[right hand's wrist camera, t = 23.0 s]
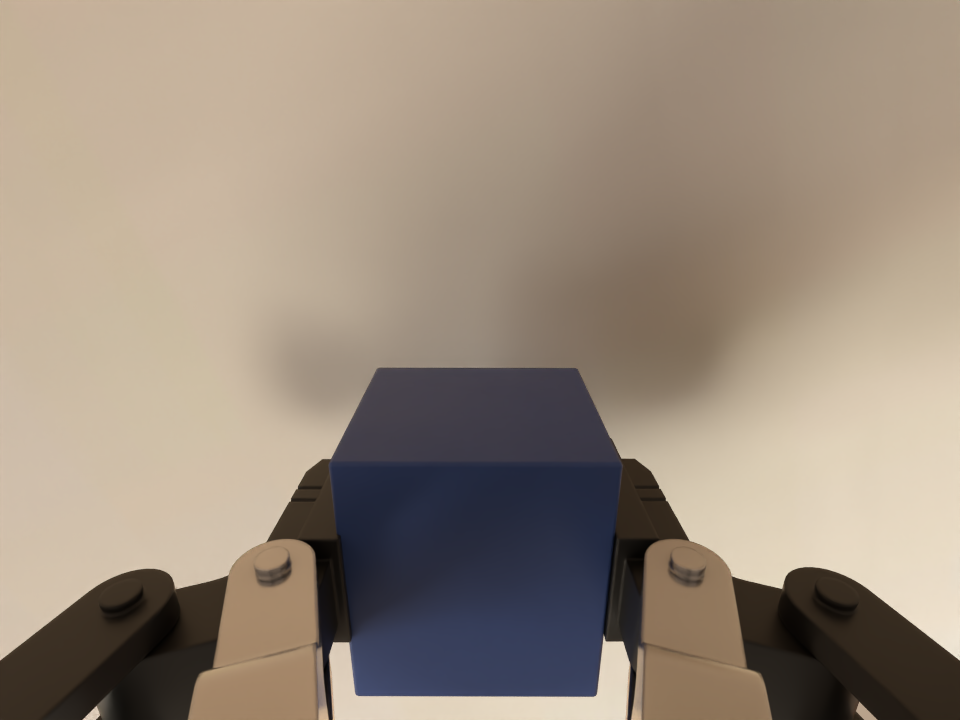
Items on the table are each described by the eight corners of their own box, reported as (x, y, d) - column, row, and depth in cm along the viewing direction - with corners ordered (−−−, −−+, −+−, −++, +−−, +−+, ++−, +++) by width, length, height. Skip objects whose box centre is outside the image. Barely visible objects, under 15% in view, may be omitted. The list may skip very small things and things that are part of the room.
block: (376, 366, 12) (326, 463, 8) (577, 367, 12) (624, 464, 8) (390, 548, 14) (354, 698, 10) (564, 548, 14) (597, 698, 10)
